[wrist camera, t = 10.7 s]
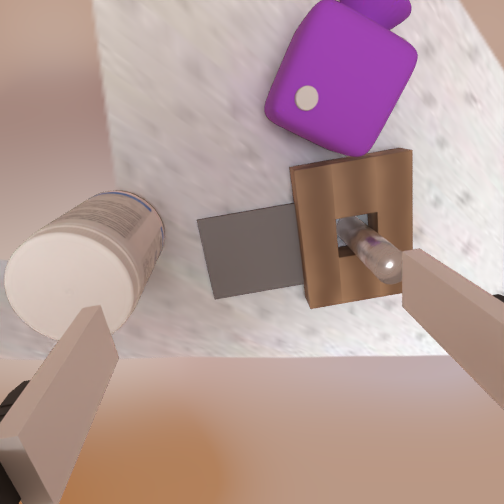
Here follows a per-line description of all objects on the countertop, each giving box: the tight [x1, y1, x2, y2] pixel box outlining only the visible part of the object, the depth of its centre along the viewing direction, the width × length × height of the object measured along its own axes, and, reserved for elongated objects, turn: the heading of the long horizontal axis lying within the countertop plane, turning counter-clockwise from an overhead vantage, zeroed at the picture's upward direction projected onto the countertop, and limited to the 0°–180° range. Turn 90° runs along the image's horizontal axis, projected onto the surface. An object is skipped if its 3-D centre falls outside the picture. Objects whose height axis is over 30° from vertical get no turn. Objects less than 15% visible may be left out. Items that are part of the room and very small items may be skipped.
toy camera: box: [265, 0, 418, 157], centre depth 31 cm, size 11×14×10 cm
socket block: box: [290, 148, 413, 309], centre depth 40 cm, size 12×16×3 cm
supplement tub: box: [4, 191, 164, 341], centre depth 33 cm, size 10×10×15 cm
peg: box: [336, 216, 402, 284], centre depth 36 cm, size 3×3×12 cm
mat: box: [197, 203, 304, 299], centre depth 41 cm, size 12×10×1 cm
